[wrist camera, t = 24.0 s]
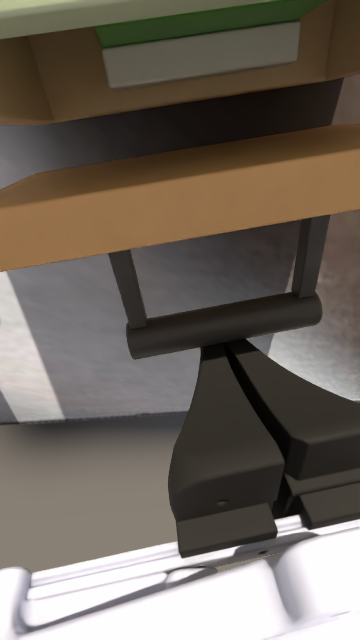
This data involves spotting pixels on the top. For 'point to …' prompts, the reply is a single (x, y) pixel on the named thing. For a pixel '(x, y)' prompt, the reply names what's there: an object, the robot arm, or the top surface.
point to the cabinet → (93, 13)
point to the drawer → (180, 177)
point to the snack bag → (202, 43)
